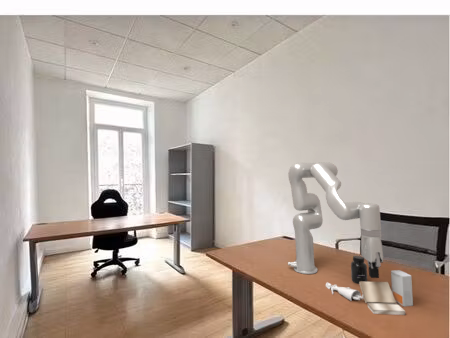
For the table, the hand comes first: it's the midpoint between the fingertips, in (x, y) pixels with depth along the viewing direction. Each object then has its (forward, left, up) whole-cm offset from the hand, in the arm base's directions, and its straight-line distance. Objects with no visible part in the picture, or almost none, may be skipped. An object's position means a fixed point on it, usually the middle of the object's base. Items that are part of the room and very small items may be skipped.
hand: (374, 277), depth 102 cm
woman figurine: (-11, +4, -10) cm, 16 cm away
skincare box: (+10, -1, -10) cm, 14 cm away
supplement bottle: (+1, +18, -10) cm, 20 cm away
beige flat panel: (0, -1, -6) cm, 6 cm away
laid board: (0, -8, -10) cm, 12 cm away
